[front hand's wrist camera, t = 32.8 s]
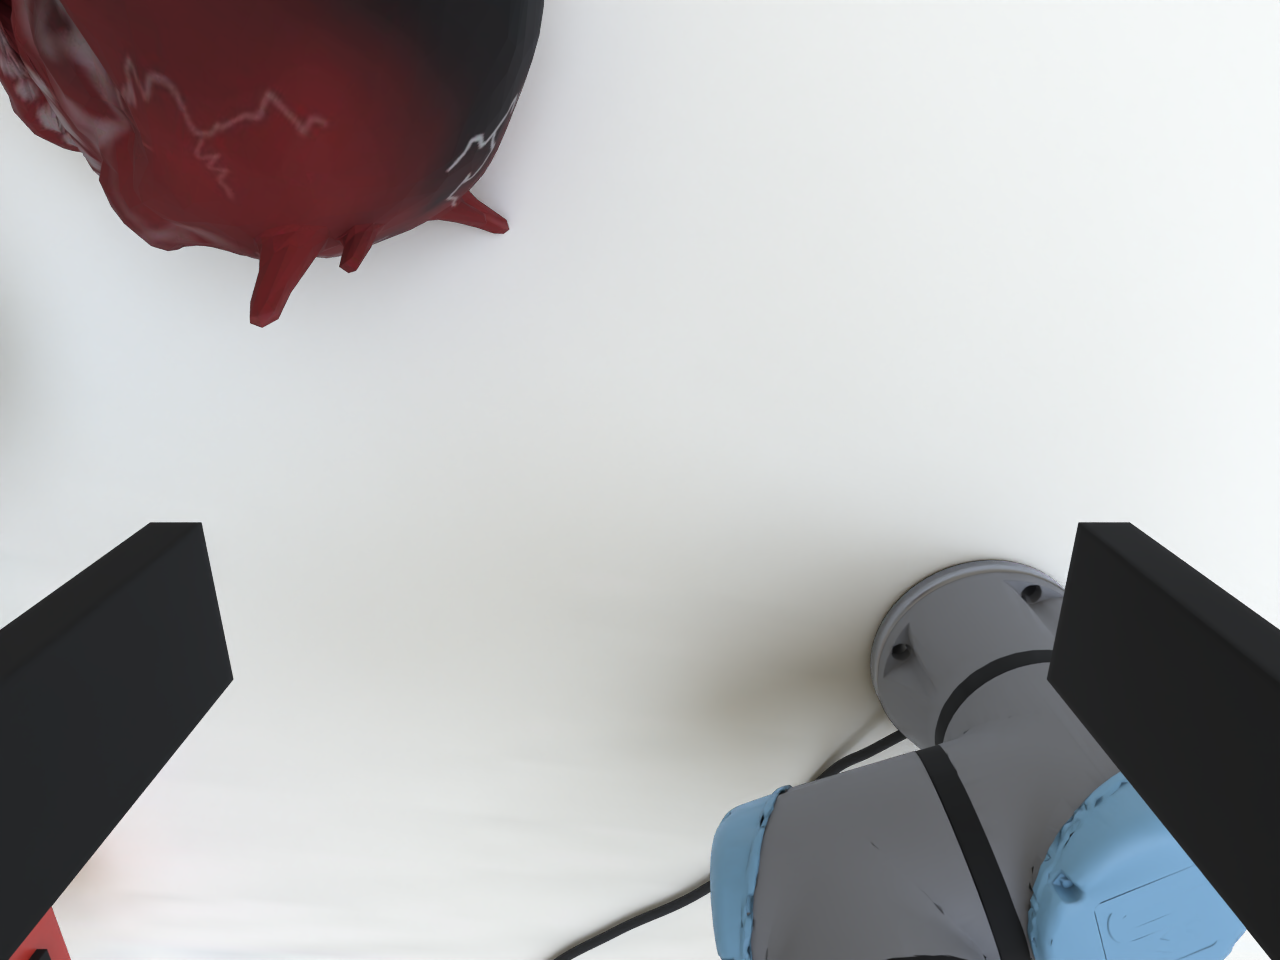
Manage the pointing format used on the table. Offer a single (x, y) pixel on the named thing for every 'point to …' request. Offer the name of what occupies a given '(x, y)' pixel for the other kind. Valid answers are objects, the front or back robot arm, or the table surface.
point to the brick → (44, 940)
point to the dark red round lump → (275, 116)
